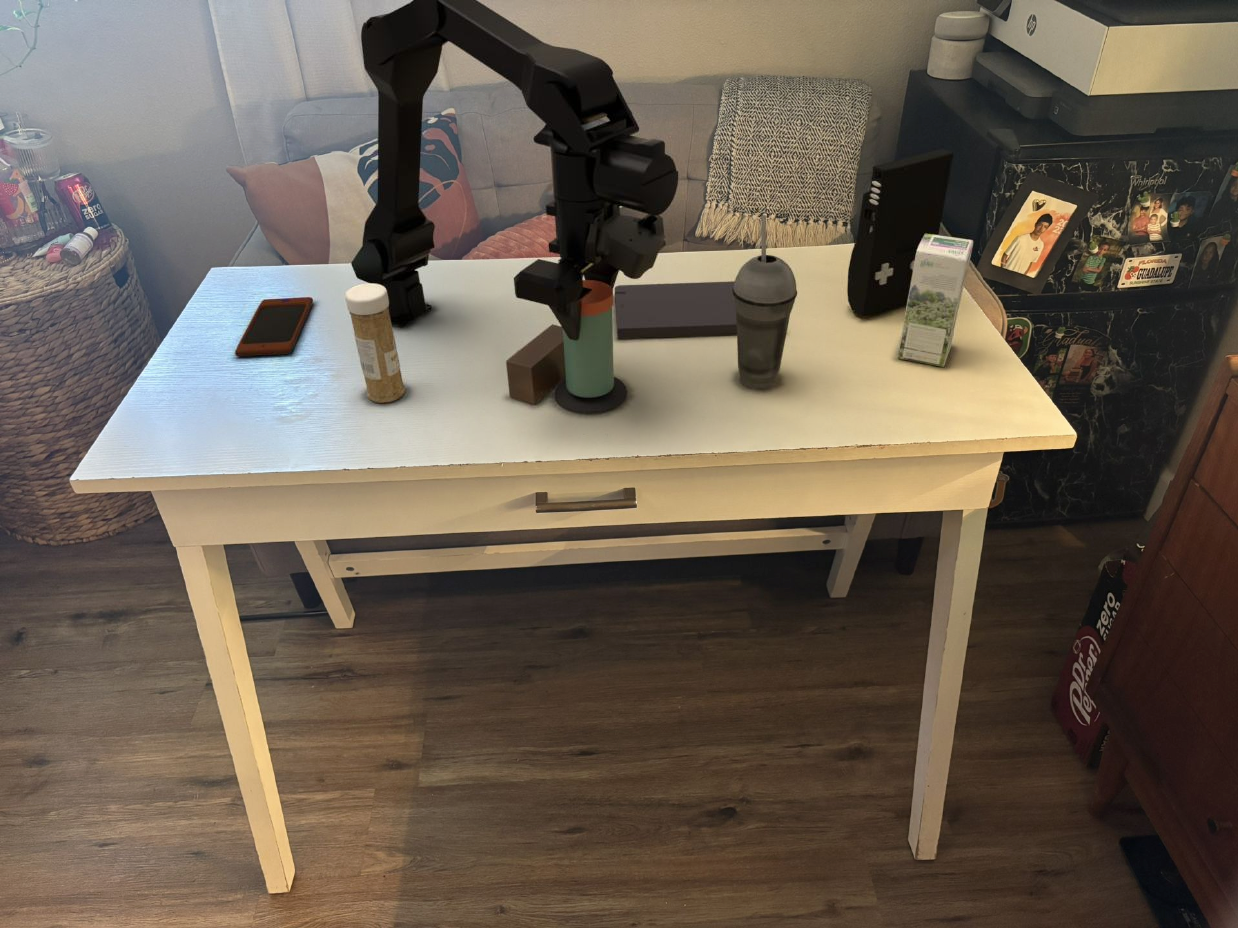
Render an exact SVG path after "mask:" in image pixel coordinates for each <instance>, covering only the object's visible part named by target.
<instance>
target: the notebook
mask: <svg viewBox="0 0 1238 928" xmlns="http://www.w3.org/2000/svg"><path fill="white" fill-rule="evenodd" d="M734 282H735V280H734V281H733V280H732V281H731V280H730V281H705V282H704V281H703V282H676V283H647V284H645V283H644V284H619V285H616V286H614V306H615V321H616V334H617V340H626V339H654V338H656V339H657V338H678V337H679V338H680V337H681V338H683V337H708V336H709V337H711V336H713V337H714V336H737V321H736V308H735V303H734V295H733V292H732V289H733V287H734Z"/></svg>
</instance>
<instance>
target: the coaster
mask: <svg viewBox="0 0 1238 928" xmlns="http://www.w3.org/2000/svg"><path fill="white" fill-rule="evenodd" d="M627 387H628V386H626V384H625V383H624V381H623V380H621V379H619V378H618V377H616V376H614V387H613V389H612V390H611V391H610V392H608V393H607V394H605V395H602V396H599V397H591V398H586V397H579V396H576V395H574V394H572V393H570V392H569V391H568V389H567V387H566V378H564V379H563V380H562V381H561V382H560V383H559V384H557V385H556V386H555V388H554V393H553V395H554V396H553V397H554V400H555V402H556V404H557V405H558V406H559V407H560V408H562V409H563V410H566V411H568V412H570V413H575V414H580V415H596V414H597V415H598V414H603V413H607V412H610V411H613V410H615V409H618V407H620V406H621V405H622V404H624V403H625V402H626V399H627V398H628V388H627Z"/></svg>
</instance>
